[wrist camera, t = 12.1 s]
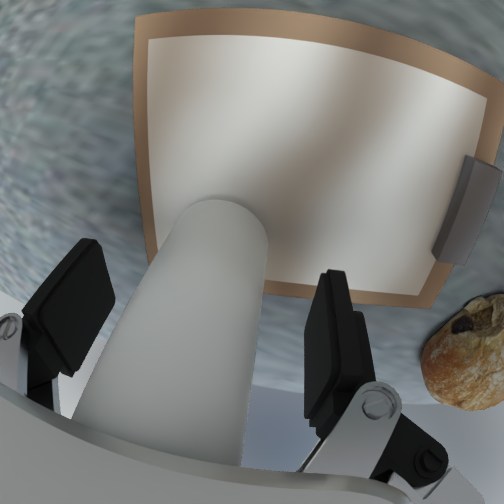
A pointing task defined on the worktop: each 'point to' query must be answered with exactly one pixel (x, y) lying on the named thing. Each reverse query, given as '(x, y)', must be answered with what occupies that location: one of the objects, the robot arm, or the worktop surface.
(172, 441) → the white teal cylinder
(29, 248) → the worktop surface
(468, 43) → the worktop surface
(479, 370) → the bread roll
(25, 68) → the worktop surface
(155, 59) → the clipboard
